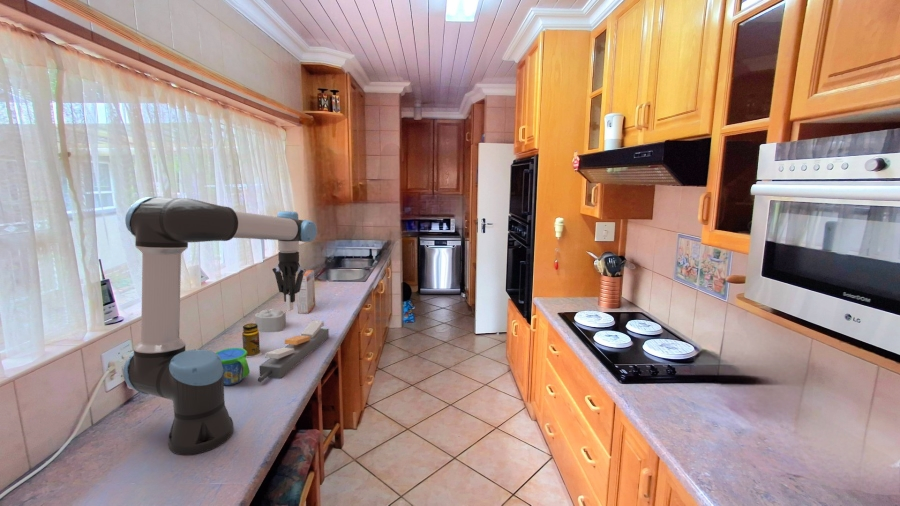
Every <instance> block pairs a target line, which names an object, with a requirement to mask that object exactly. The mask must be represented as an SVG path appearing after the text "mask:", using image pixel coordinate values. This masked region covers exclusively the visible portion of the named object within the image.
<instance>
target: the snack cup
mask: <svg viewBox="0 0 900 506" xmlns="http://www.w3.org/2000/svg"><path fill="white" fill-rule="evenodd" d="M215 353H216V354H218V355H219V356H220V358H221V362H222V366H223V380H224V385H225V386H232V385H235V384H238V383H240V382H241V381H242V380H243V379H244V378H246V377H248V376H249V375H250V371H251V370H250V367H249V363H248V360H247V359H246V358H247V357H246V356H247V351H246V350H245V349H243V347H230V348H225V349H220V350H218V351H217V352H215Z"/></svg>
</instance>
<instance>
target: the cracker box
mask: <svg viewBox="0 0 900 506" xmlns="http://www.w3.org/2000/svg"><path fill="white" fill-rule="evenodd" d="M305 270H306V272H305V273H304V275H303V279H302V283H301V288H300V292H298V293H296V298H297V301H296V302H297V313H298V314H309V313H310V312H311V311H312V310H313V309H314V308H315V307H316V291H315V290H316V289H315V288H316V287H315V269H305ZM296 280H297V275H296V277H295V281H296Z"/></svg>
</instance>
